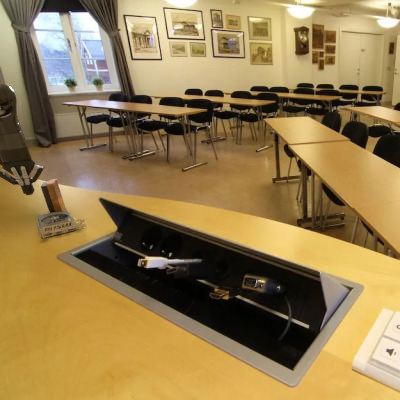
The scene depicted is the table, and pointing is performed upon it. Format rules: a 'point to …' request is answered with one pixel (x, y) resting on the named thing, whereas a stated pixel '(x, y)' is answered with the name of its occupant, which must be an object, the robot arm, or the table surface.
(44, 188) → the brush
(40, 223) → the graphics card
